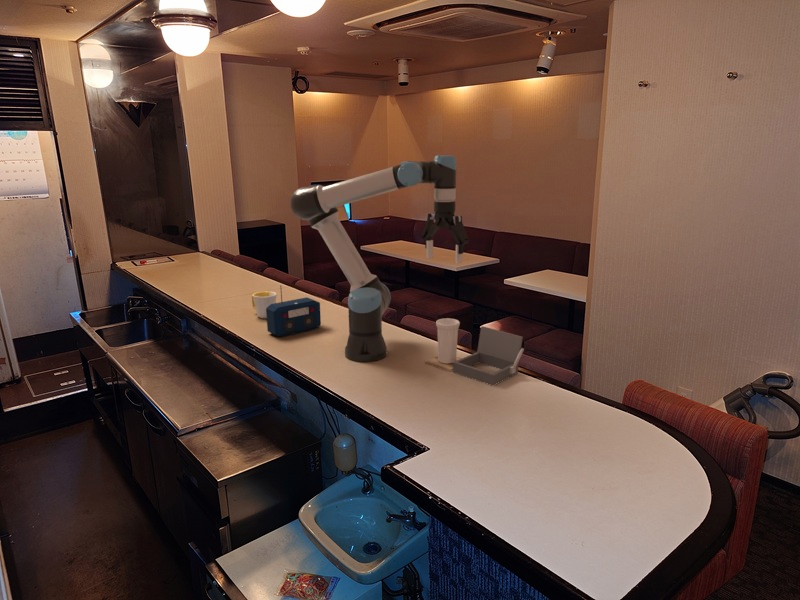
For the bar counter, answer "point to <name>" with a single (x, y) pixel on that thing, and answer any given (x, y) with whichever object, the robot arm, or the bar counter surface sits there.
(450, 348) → the cup
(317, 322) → the radio
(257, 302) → the mug
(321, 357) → the bar counter surface
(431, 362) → the trivet
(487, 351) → the grey caddy tray
